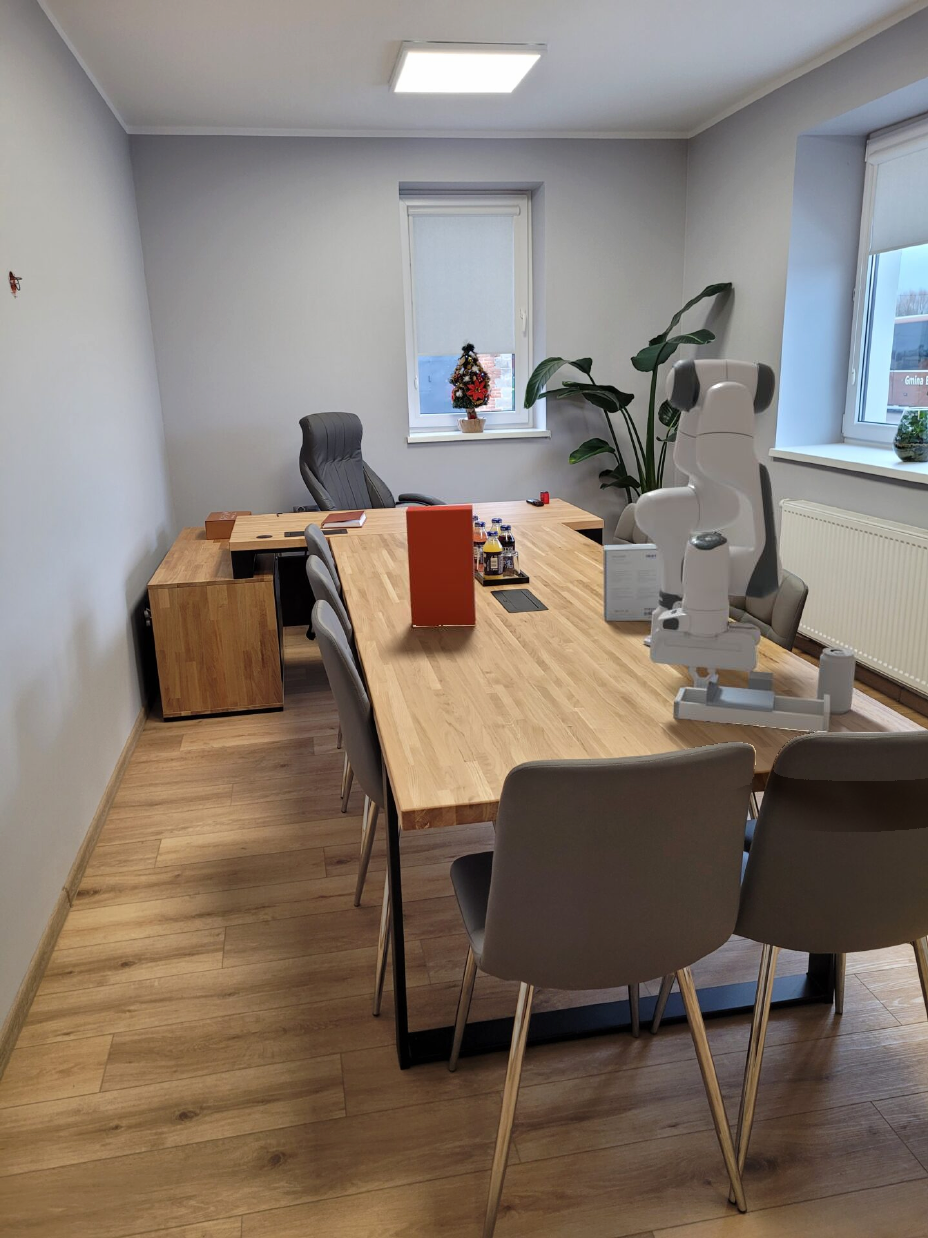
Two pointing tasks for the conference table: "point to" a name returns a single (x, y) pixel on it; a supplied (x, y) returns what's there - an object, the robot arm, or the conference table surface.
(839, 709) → the beverage can
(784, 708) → the tray
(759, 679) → the block
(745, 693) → the cover
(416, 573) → the file binder
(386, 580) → the conference table surface
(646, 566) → the hard drive box
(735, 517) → the robot arm
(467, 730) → the conference table surface
